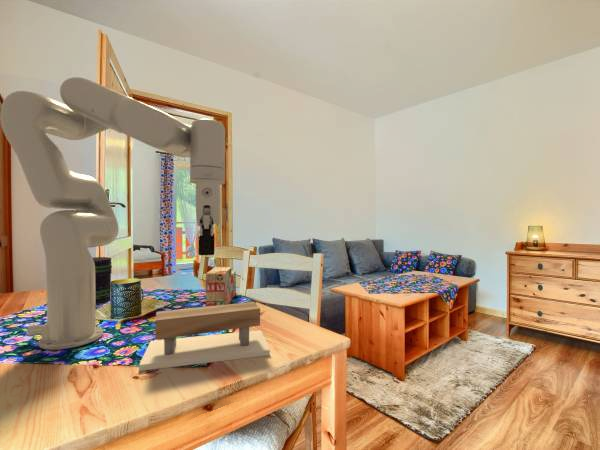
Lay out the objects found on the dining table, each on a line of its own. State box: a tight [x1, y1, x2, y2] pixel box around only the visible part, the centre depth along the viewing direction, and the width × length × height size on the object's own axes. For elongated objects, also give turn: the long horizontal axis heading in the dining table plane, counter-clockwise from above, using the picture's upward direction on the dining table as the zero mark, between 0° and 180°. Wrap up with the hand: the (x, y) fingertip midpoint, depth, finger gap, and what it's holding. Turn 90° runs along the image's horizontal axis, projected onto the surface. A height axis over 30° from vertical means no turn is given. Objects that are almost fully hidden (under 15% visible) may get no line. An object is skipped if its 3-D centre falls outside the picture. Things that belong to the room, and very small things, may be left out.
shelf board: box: [154, 301, 261, 341], centre depth 69 cm, size 6×22×4 cm, turn 113°
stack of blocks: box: [205, 266, 237, 307], centre depth 110 cm, size 21×6×12 cm, turn 2°
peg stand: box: [138, 327, 271, 372], centre depth 69 cm, size 26×12×5 cm, turn 106°
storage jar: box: [92, 256, 113, 304], centre depth 109 cm, size 10×10×15 cm
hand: (206, 252), depth 69 cm, fingers open, 9 cm apart
